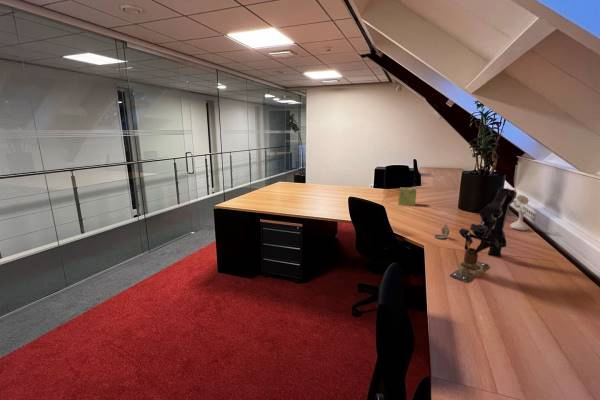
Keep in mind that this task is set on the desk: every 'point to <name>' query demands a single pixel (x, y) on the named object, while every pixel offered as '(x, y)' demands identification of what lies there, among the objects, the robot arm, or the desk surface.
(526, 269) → the desk surface
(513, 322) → the desk surface
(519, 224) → the flower in vase
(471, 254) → the utensil holder
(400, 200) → the protein box
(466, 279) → the wooden ring bracket
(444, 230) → the pocket watch
